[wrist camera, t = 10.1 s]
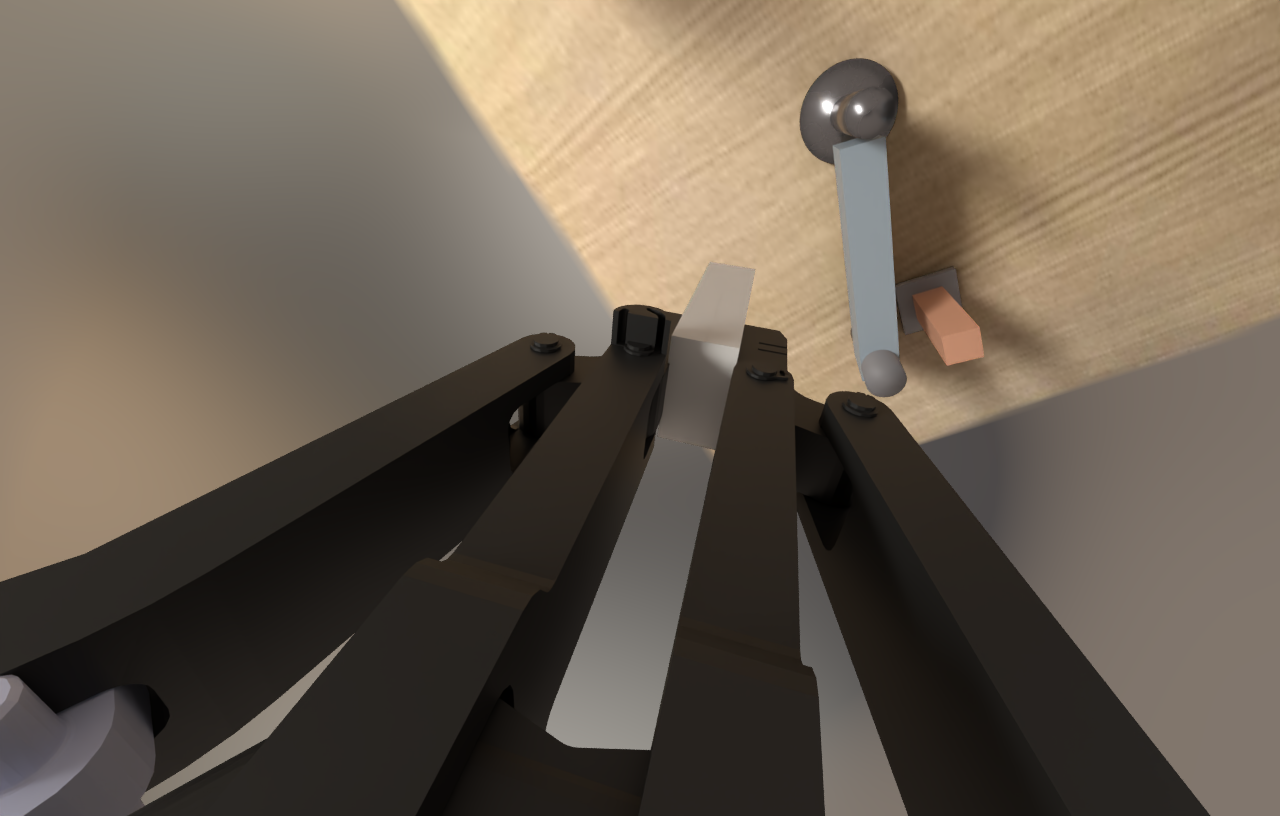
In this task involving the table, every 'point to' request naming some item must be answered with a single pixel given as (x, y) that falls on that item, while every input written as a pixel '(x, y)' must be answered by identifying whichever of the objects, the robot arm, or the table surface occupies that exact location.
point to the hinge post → (848, 106)
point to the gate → (869, 261)
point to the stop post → (939, 315)
